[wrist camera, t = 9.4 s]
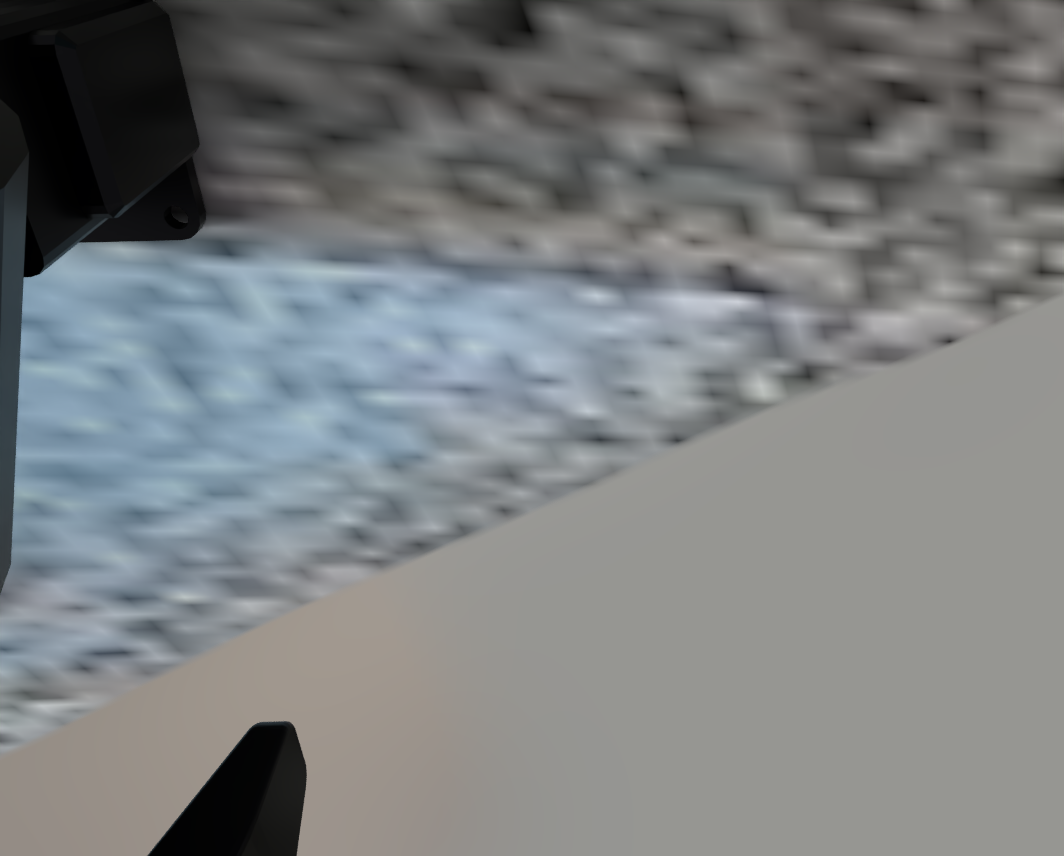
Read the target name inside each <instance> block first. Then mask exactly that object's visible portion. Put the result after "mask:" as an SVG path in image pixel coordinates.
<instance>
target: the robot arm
mask: <svg viewBox="0 0 1064 856" xmlns="http://www.w3.org/2000/svg"><path fill="white" fill-rule="evenodd" d="M199 145H200V142H199V137H198V133H197V129H196V125H195V121H194V116H193V112H192V108H191V104H190V100H189V96H188V92H187V88H186V83H185V79H184V75H183V71H182V67H181V63H180V59H179V55H178V51H177V46H176V42H175V38H174V34H173V30H172V26H171V22H170V18H169V15H168V14H167V13H166V12H165V11H164V10H163V9H162V8H161V7H160V6H159V5H158V4H157V3H155V2H153V0H0V593H1V590H2V588H3V585H4V582H5V579H6V576H7V574H8V571H9V568H10V565H11V548H12V526H13V503H14V481H15V458H16V435H17V413H18V390H19V368H20V345H21V323H22V300H23V278H24V277H32V276H35V275H39V274H40V273H42V272H43V271H44V270H45V269H47V268H48V267H49V266H50V265H51V264H53V263H54V262H55V261H56V260H58V259H59V258H60V257H61V256H63V255H64V254H65V253H66V252H68V251H69V250H70V249H71V248H72V247H74V246H75V245H76V244H77V243H79V242H119V241H160V240H184V239H189V238H191V237H193V236H194V235H195V234H196V233H197V232H198V231H199V230H200V229H201V228H202V227H203V225H204V223H205V220H206V211H205V207H204V203H203V199H202V195H201V191H200V187H199V183H198V179H197V175H196V171H195V167H194V163H193V159H192V155H193V154H194V153H195V151H196V150H197V148H198V147H199ZM171 206H176V207H180V208H181V209H183V210H184V211H185V212H186V214H187V216H188V222H187V223H184V222H179V221H178V220H177V219H175V218H174V217H173V215H172V213H171ZM306 776H307V773H306V764H305V760H304V757H303V754H302V750H301V747H300V743H299V740H298V737H297V733H296V730H295V728H294V726H293V724H291V723H290V722H287V721H284V722H260V723H257V724H255V725H253V726H252V727H251V728H250V729H249V730H248V731H247V733H246V734H245V735H244V736H243V738H242V739H241V740H240V741H239V743H238V744H237V745H236V746H235V748H234V749H233V750H232V751H231V752H230V754H229V755H228V756H227V757H226V759H225V760H224V761H223V763H222V764H221V765H220V766H219V768H218V769H217V770H216V771H215V772H214V774H213V775H212V776H211V777H210V779H209V780H208V781H207V782H206V784H205V785H204V786H203V787H202V788H201V790H200V791H199V792H198V794H197V795H196V796H195V797H194V799H193V800H192V801H191V802H190V803H189V805H188V806H187V807H186V808H185V810H184V811H183V812H182V813H181V815H180V816H179V817H178V818H177V820H176V821H175V822H174V823H173V825H172V826H171V827H170V828H169V830H168V831H167V832H166V833H165V835H164V836H163V837H162V838H161V840H160V841H159V842H158V843H157V844H156V846H155V847H154V848H153V849H152V851H151V852H150V853H149V854H148V856H297V848H298V840H299V833H300V826H301V818H302V812H303V804H304V797H305V790H306V778H307V777H306Z"/></svg>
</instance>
